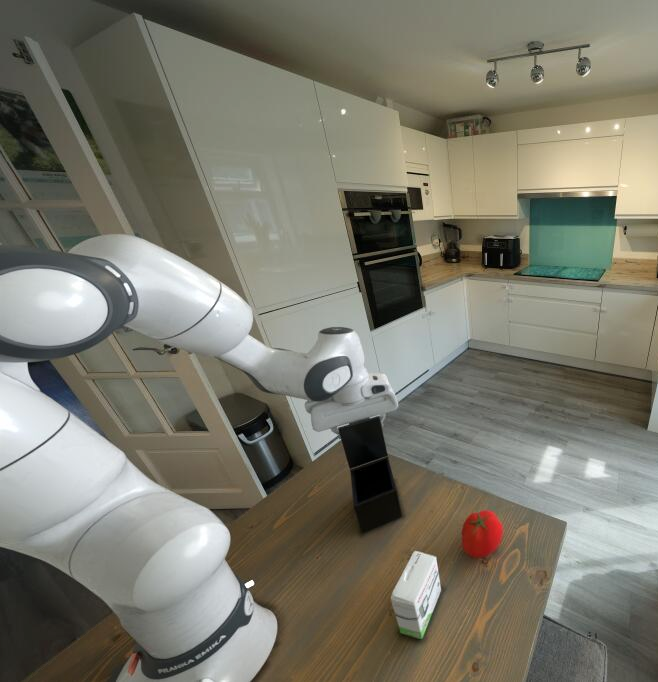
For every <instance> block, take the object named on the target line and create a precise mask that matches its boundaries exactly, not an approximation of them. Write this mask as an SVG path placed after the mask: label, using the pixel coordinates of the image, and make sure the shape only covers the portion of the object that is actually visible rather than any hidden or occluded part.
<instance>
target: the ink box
mask: <svg viewBox="0 0 658 682" xmlns="http://www.w3.org/2000/svg"><path fill="white" fill-rule="evenodd" d="M441 592H442V587H441V581H440V573H439V567H438V561H437V556H436V555H432V554H429V553H425V552H422V551H417V550H415V551H413V553H412V554H411V556H410V558H409V560H408V562H407V563H406V566H405V567H404V569H403V571H402V573H401V575H400V577H399V579H398V580H397V582H396V585H395V587H394V589H393V590H392V593H391V596H390V601H391V605H392V608H393V611H394V616H395V619H396V622H397V626H398V629H399V632H400V634H402V635H406V636H409V637H412V638H416V639H418V640H422V639H423V638H424V636H425V633H426V630H427V628H428V625H429V623H430V620H431V617H432V615H433V612H434V610H435V607H436V604H437V602H438V599H439V597H440V594H441Z"/></svg>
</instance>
